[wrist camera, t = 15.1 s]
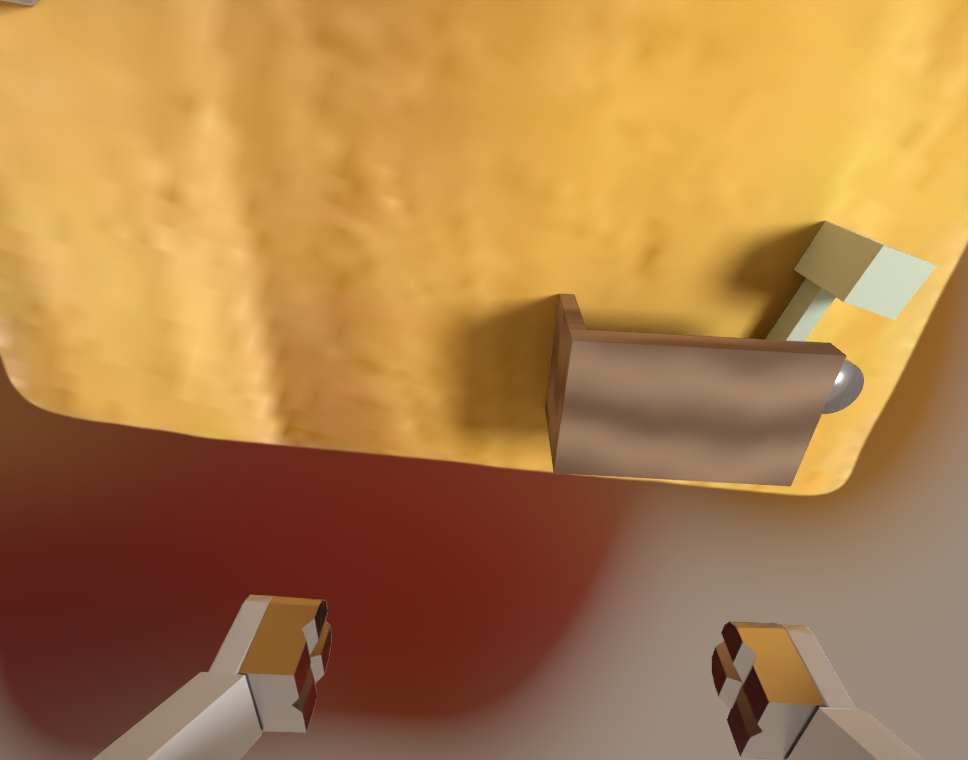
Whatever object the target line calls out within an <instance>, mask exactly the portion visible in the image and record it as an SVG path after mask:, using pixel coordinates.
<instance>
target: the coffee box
mask: <svg viewBox="0 0 968 760" xmlns="http://www.w3.org/2000/svg"><path fill="white" fill-rule="evenodd" d="M0 1H6V2H11V3H16V4H22V5H26V6H35V5H36V3H37V2H38V1H39V0H0Z"/></svg>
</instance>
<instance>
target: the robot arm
mask: <svg viewBox="0 0 968 760" xmlns="http://www.w3.org/2000/svg"><path fill="white" fill-rule="evenodd" d="M327 612H328V608H327V604H326V600H314V599H302V598H288V597H276V596H260V595H250V596H249V597H248V598H247V599H246V600H245V602H244V603H243V605H242V607H241V609H240V611H239V613H238V615H237V617H236V619H235V620H234V623H233V625H232V626H231V628H230V630H229V632H228V634H227V636H226V638H225V640H224V642H223V644H222V646H221V648H220V650H219V652H218V654H217V656H216V658H215V660H214V662H213V664H212V666H211V668H210V670H209V672H200V673H199V674H198V675H197V676H195V677H194V678H193V679H192V680H190V681H189V682H188V683H187V684H185V685H184V686H183V687H182V688H180V689H179V690H178V691H177V692H176V693H174V694H173V695H172V696H171V697H169V698H168V699H167V700H166V701H164V702H163V703H162V704H161V705H159V706H158V707H157V708H156V709H155V710H153V711H152V712H151V713H150V714H148V715H147V716H146V717H145V718H144V719H142V720H141V721H140V722H138V723H137V724H136V725H135V726H134V727H132V728H131V729H130V730H129V731H127V732H126V733H125V734H124V735H122V736H121V737H120V738H119V739H117V740H116V741H115V742H114V743H112V744H111V745H110V746H109V747H108V748H106V749H105V750H104V751H103V752H101V753H100V754H99V755H98V756H96V757H95V758H94V759H93V760H240V759H241V758H242V757H243V755H244V754H245V753H246V752H247V751H248V750H249V749H250V748H251V746H252V745H253V744H254V743H255V742H256V741H257V740H258V738H259V737H260V736H261V735H262V731H273V732H274V731H276V732H307V729H308V726H309V723H310V719H311V716H312V713H313V710H314V707H315V703H316V700H317V692H316V686H315V683H316V682H317V681H318V680H319V679H320V678H321V677H322V676H323V675H324V674H325V670H326V666H327V663H328V660H329V653H330V648H331V627H330V625H329V624H328V623H327V622H326V621H325V619H326V616H327ZM721 633H722V635H723V638H724V642H722V643H720V644H719V645H717V646H716V647H715V650H714V652H713V655H712V675H713V680H714V684H715V688H716V691H717V693H718V696H719V697H720V699H722V701H723V702H724V703H726V705H727V706H728V707H729V708H730V712H729V715H728V718H727V722H728V724H729V727H730V730H731V733H732V736H733V739H734V741H735V744H736V747H737V750H738V752H739V755H740V757H746V758H758V759H770V760H924V759H923V758H921V757H920V756H919V755H918V754H917V753H915V752H914V751H913V750H912V749H911V748H910V747H908V746H907V745H906V744H905V743H903V742H902V741H901V740H900V739H899V738H898V737H896V736H895V735H894V734H893V733H892V732H890V731H889V730H888V729H887V728H886V727H884V726H883V725H882V724H881V723H880V722H878V721H877V720H876V719H875V718H874V717H872V716H871V715H870V714H869V713H868V712H867V711H865V710H864V709H856V708H855V706H854V704H853V702H852V701H851V699H850V697H849V695H848V694H847V692H846V690H845V689H844V687H843V685H842V683H841V682H840V680H839V678H838V676H837V675H836V673H835V671H834V669H833V668H832V666H831V664H830V662H829V661H828V659H827V657H826V655H825V654H824V652H823V650H822V648H821V647H820V645H819V643H818V642H817V640H816V638H815V636H814V635H813V633H812V631H811V630H810V629H808V628H807V627H806V626H802V625H782V624H780V625H779V624H776V623H753V622H728V623H727V624H725V625H724V627H723V630H722V632H721Z"/></svg>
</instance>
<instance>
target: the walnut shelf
mask: <svg viewBox="0 0 968 760" xmlns="http://www.w3.org/2000/svg"><path fill="white" fill-rule="evenodd" d="M845 358H846V355H845V354H844V353H842V352H841V351H840V350H839V349H837V348H836V347H835V346H833V345H832V344H831V343H821V342H803V341H785V340H767V339H749V338H731V337H713V336H695V335H676V334H658V333H640V332H622V331H604V330H586V327H585V324H584V321H583V318H582V315H581V312H580V309H579V307H578V304H577V301H576V298H575V295H572V294H560V296H559V304H558V312H557V320H556V328H555V336H554V345H553V353H552V361H551V369H550V377H549V385H548V394H547V402H546V418H547V425H548V433H549V441H550V448H551V456H552V463H553V471H554V473H564V474H582V475H599V476H617V477H635V478H653V479H670V480H688V481H706V482H723V483H741V484H759V485H777V486H791V485H792V482H793V480H794V478H795V475H796V473H797V471H798V468H799V466H800V464H801V461H802V459H803V457H804V454H805V452H806V450H807V447H808V445H809V443H810V440H811V438H812V436H813V433H814V431H815V429H816V426H817V424H818V422H819V419H820V417H821V414H822V412H823V410H824V407H825V405H826V403H827V400H828V398H829V396H830V393H831V391H832V389H833V386H834V384H835V382H836V379H837V377H838V375H839V372H840V370H841V368H842V365H843V363H844V361H845Z"/></svg>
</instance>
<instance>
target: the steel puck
mask: <svg viewBox="0 0 968 760" xmlns="http://www.w3.org/2000/svg"><path fill="white" fill-rule="evenodd" d="M863 384H864V377H863V374H862V372H861V370H860V369H859V368H858V367H857V366H856V365H854V364H853V363H852V362H850V361H849V360H847V359H846V358H845V361H844V363H843V365H842V368H841V370H840V372H839V375H838V377H837V379H836V382H835V384H834V386H833V389H832V391H831V393H830V396H829V398H828V400H827V403H826V405H825V407H824V410H823V412H822V414H829V413H834V412H837V411H840V410H842V409H844V408H846V407H847V406H849V405H850V404H851V403H852V402H853V401H854V400H855V399H856V398H857V397H858V396H859V394H860V392H861V390H862V388H863Z"/></svg>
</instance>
